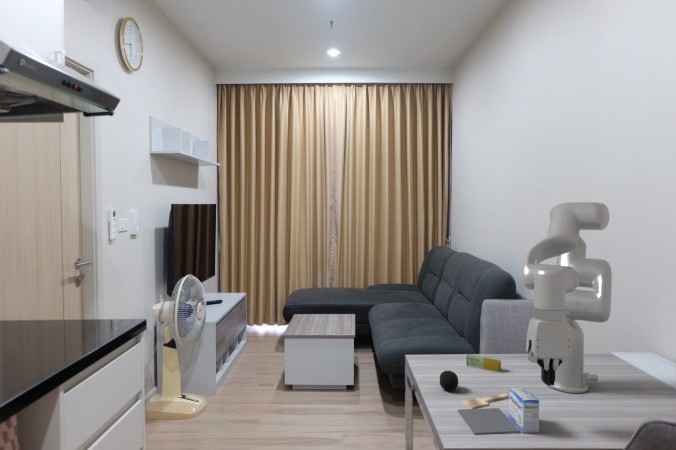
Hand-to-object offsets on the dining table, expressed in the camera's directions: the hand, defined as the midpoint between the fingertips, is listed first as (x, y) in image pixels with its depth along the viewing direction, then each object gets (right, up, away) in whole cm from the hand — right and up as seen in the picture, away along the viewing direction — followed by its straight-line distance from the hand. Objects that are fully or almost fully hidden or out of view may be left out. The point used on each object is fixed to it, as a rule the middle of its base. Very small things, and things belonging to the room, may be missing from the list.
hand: (548, 383), depth 116 cm
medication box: (-3, -10, +42) cm, 43 cm away
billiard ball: (-20, -11, +24) cm, 33 cm away
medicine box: (-6, -12, +1) cm, 13 cm away
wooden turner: (-11, -11, +15) cm, 22 cm away
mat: (-15, -11, +3) cm, 19 cm away
